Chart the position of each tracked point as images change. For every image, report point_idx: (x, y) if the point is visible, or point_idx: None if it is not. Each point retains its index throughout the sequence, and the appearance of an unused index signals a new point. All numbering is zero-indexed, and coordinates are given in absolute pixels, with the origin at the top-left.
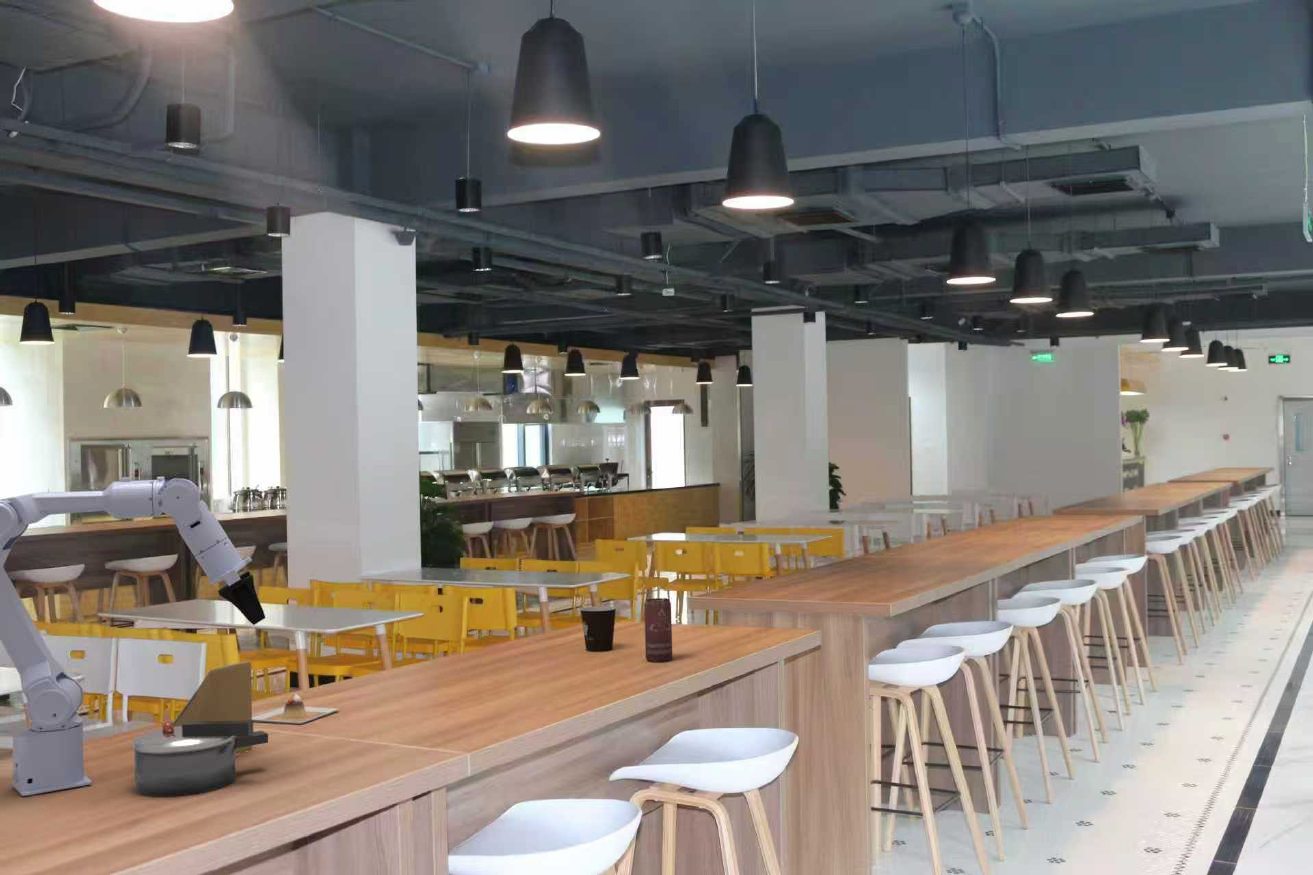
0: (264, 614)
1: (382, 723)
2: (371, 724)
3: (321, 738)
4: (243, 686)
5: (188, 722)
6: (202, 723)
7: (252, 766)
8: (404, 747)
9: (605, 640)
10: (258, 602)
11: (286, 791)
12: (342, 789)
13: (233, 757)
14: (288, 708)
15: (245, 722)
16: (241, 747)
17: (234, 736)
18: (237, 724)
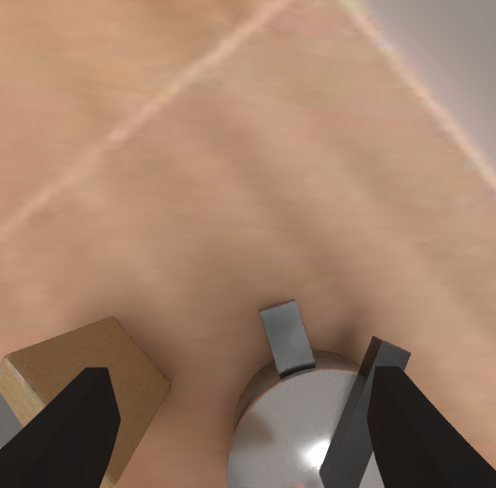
0: (407, 377)
1: (4, 67)
2: (2, 88)
3: (78, 189)
4: (65, 361)
5: (335, 486)
6: (363, 454)
7: (242, 320)
8: (226, 60)
9: None
10: (478, 455)
11: (438, 274)
12: (464, 191)
13: (344, 363)
14: None
15: (399, 358)
16: (126, 338)
17: (356, 372)
18: None
